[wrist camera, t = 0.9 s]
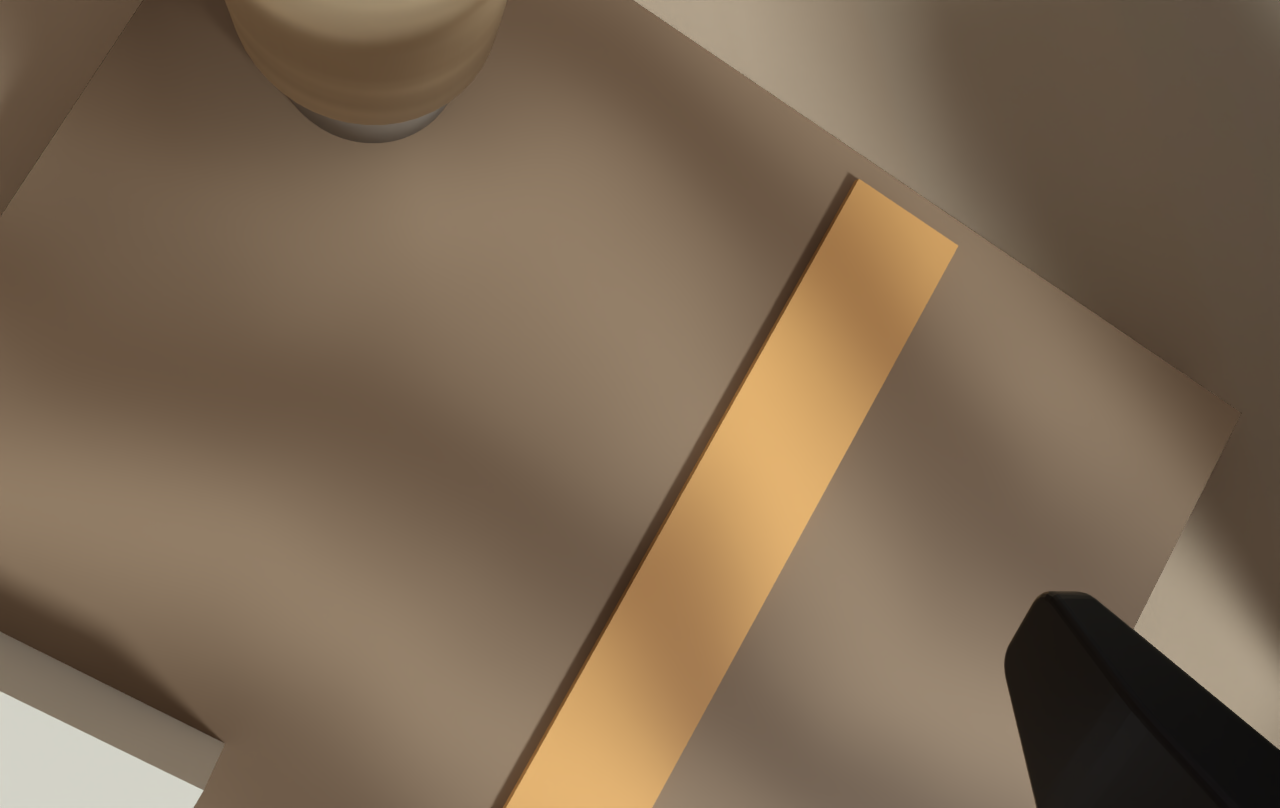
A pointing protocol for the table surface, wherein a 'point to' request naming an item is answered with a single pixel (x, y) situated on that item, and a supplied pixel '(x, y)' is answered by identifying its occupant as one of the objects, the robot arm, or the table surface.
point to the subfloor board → (552, 436)
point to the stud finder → (90, 741)
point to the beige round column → (368, 58)
